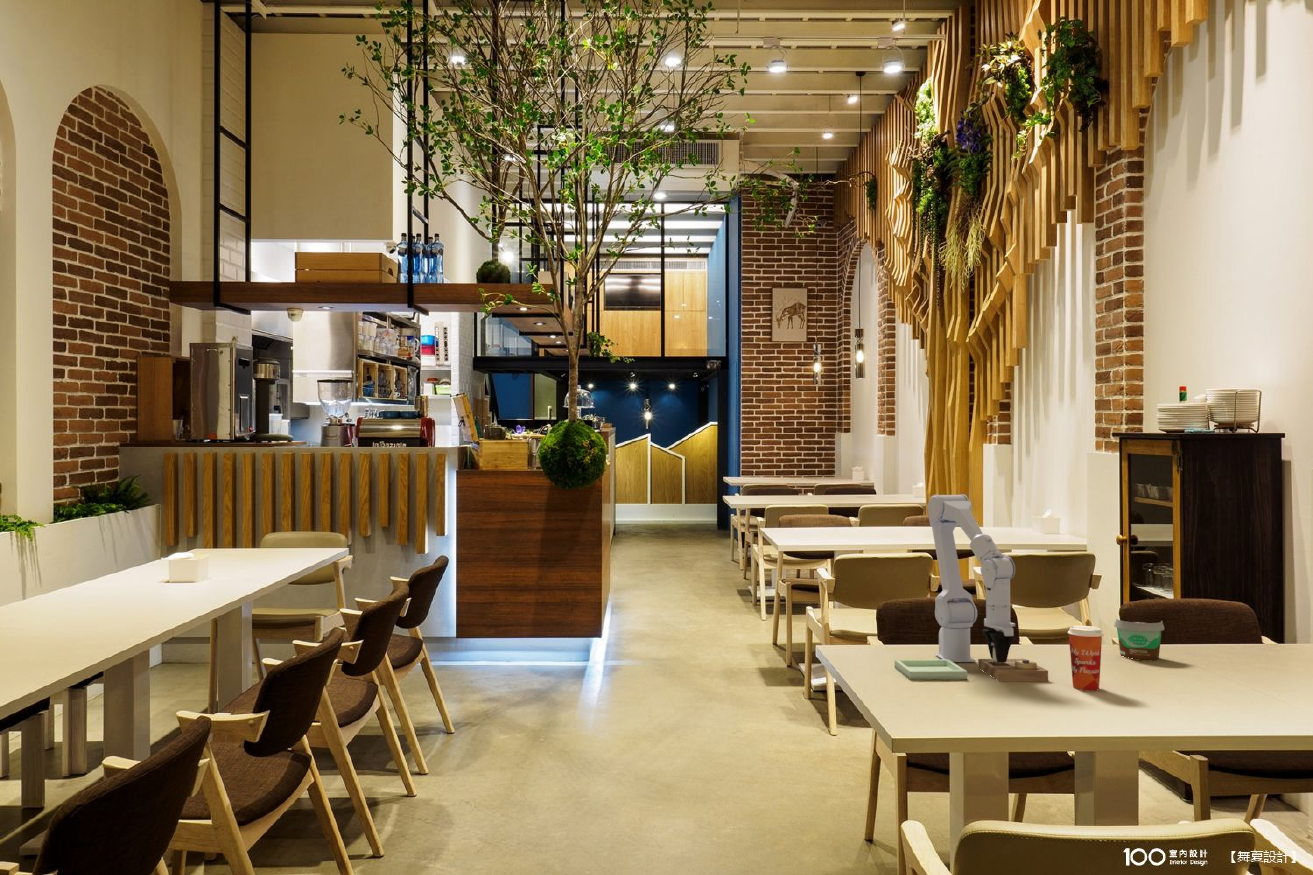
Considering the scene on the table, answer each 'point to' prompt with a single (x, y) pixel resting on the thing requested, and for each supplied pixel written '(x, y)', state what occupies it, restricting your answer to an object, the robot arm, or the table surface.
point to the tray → (930, 669)
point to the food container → (1139, 639)
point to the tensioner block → (1014, 670)
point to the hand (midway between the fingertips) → (998, 660)
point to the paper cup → (1085, 656)
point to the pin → (995, 658)
